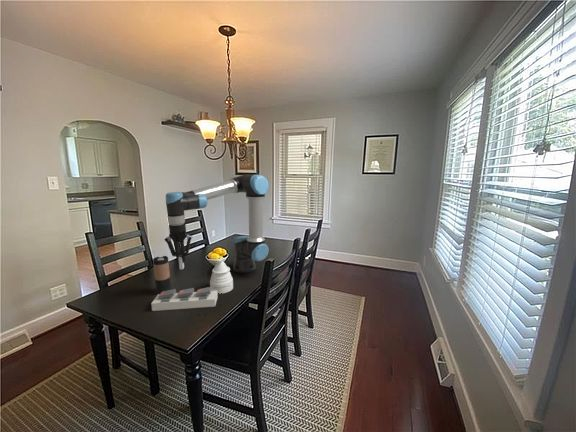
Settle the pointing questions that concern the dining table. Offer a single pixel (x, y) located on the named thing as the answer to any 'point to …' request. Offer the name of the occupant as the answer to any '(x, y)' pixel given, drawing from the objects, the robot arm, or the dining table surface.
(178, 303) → the power strip
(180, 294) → the rocker mid
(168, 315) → the dining table surface
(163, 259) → the travel mug
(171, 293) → the rocker
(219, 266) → the honey pot
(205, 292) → the rocker
